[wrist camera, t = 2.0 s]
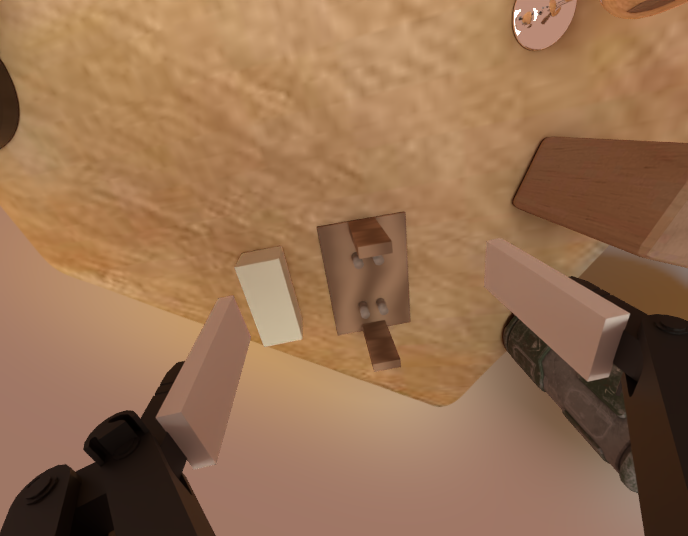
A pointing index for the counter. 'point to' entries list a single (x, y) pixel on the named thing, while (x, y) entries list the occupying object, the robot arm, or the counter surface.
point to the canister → (578, 398)
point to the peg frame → (368, 280)
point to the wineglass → (557, 12)
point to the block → (614, 193)
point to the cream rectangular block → (270, 295)
